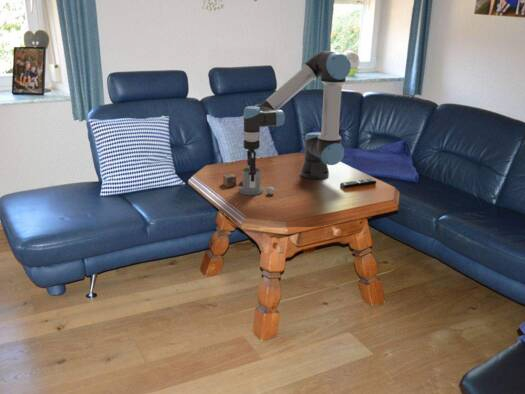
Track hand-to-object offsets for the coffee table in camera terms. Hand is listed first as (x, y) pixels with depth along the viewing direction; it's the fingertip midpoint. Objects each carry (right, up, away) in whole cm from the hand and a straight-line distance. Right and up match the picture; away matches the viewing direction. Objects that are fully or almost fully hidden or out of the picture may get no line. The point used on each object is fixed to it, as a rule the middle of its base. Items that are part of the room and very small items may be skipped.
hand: (251, 182), depth 248 cm
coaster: (0, -4, +1) cm, 4 cm away
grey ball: (+9, -6, -2) cm, 11 cm away
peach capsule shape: (-2, +1, +14) cm, 15 cm away
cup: (0, -3, +1) cm, 4 cm away
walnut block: (-11, -1, +10) cm, 15 cm away
